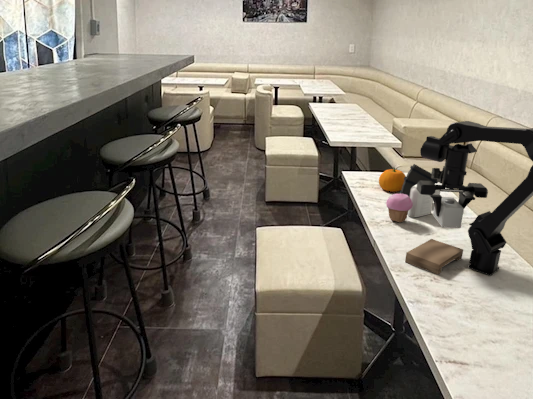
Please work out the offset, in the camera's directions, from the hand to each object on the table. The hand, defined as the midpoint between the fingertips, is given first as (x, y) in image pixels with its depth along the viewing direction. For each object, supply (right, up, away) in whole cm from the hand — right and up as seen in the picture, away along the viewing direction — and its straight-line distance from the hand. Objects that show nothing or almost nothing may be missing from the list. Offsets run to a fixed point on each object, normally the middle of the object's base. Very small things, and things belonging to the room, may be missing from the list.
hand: (447, 216), depth 139 cm
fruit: (0, +9, +62) cm, 63 cm away
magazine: (+6, +4, +48) cm, 48 cm away
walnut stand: (-5, -13, -2) cm, 14 cm away
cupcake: (-7, -3, +27) cm, 28 cm away
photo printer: (+3, -1, +34) cm, 34 cm away
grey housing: (0, -1, +1) cm, 2 cm away
